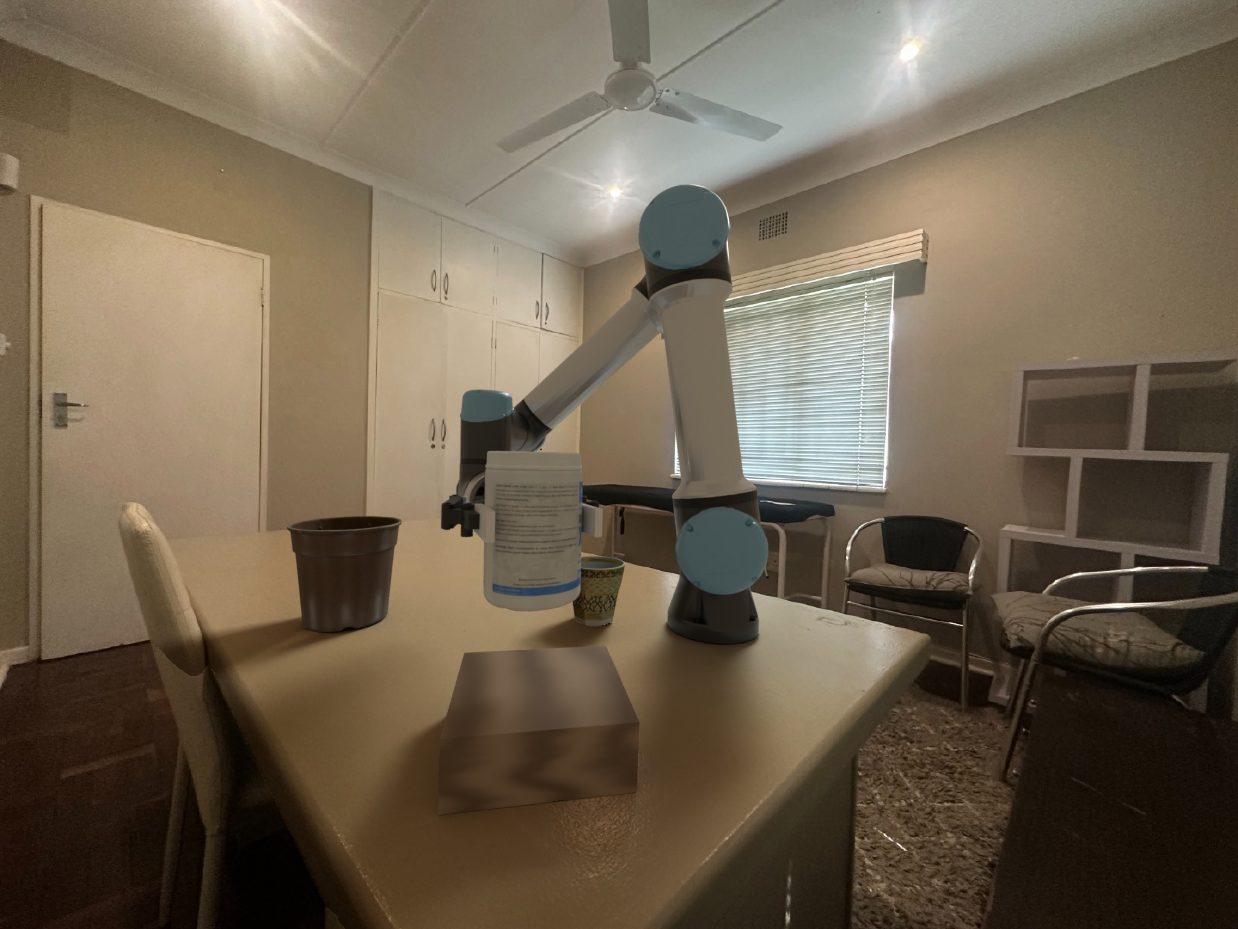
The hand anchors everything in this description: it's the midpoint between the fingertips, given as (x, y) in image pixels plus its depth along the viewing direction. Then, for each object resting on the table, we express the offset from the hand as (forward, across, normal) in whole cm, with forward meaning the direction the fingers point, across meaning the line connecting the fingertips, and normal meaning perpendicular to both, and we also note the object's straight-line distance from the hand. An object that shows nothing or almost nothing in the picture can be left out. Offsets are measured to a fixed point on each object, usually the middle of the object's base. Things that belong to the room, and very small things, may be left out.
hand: (547, 525), depth 43 cm
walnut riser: (-3, -1, -22) cm, 22 cm away
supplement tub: (-4, 0, -8) cm, 9 cm away
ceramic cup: (-34, -20, -22) cm, 45 cm away
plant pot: (-47, +19, -22) cm, 55 cm away
